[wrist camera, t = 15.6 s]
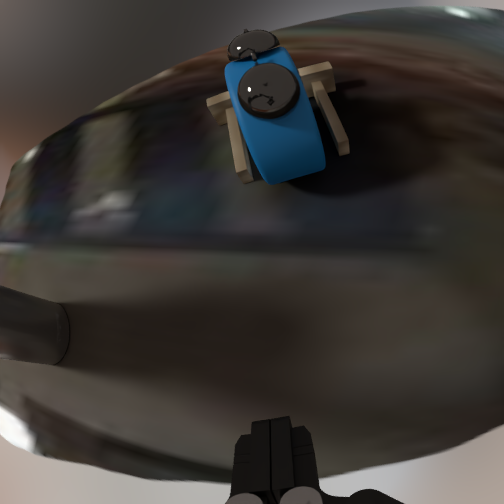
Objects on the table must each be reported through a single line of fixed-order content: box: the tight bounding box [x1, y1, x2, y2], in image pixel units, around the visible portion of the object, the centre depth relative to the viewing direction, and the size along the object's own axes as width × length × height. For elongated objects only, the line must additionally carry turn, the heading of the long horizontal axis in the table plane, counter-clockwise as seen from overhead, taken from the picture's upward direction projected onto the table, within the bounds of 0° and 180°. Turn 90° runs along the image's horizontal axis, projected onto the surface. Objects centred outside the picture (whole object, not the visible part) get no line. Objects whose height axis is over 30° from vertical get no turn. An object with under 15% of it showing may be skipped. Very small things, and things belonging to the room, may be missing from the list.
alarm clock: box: [225, 29, 326, 185], centre depth 29 cm, size 13×6×15 cm, turn 10°
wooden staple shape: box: [207, 62, 350, 184], centre depth 35 cm, size 16×12×4 cm
